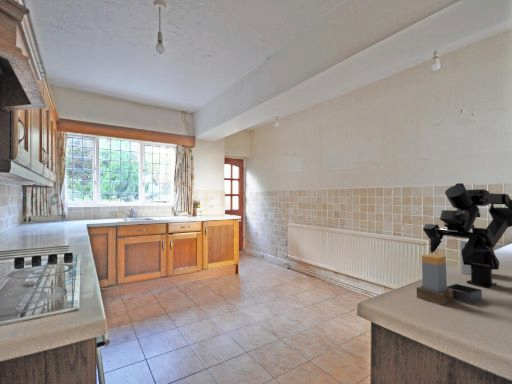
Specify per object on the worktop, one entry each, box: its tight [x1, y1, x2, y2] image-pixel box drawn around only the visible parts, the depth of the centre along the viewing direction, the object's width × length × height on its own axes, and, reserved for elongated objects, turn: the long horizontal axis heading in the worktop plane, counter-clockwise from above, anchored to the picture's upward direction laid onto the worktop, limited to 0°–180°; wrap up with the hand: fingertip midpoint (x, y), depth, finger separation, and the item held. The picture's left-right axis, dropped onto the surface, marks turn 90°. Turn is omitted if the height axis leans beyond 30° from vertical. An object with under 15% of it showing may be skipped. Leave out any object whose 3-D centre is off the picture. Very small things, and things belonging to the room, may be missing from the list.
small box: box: [459, 239, 471, 275], centre depth 108 cm, size 8×6×13 cm
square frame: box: [416, 285, 455, 306], centre depth 82 cm, size 7×7×3 cm
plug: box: [421, 253, 448, 293], centre depth 82 cm, size 4×4×13 cm
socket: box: [447, 283, 483, 305], centre depth 82 cm, size 7×7×3 cm
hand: (446, 254), depth 85 cm, fingers open, 9 cm apart
